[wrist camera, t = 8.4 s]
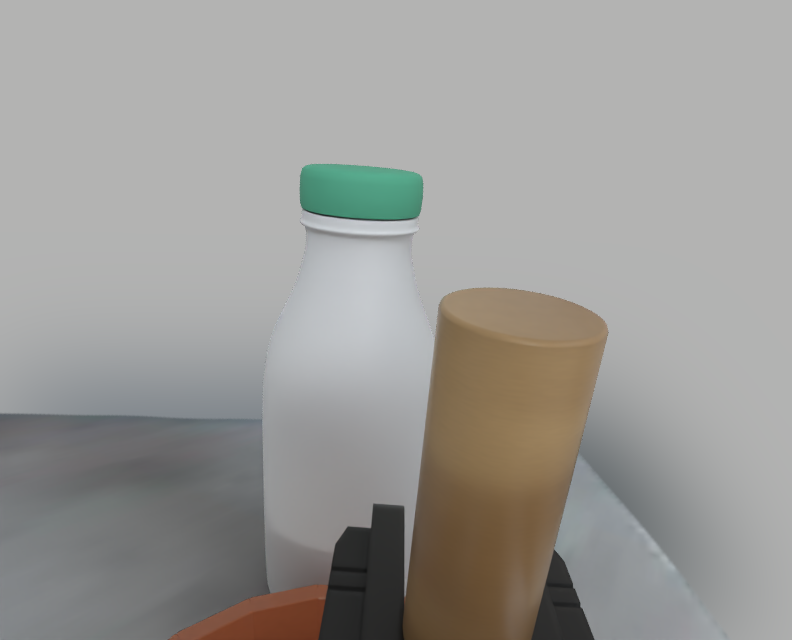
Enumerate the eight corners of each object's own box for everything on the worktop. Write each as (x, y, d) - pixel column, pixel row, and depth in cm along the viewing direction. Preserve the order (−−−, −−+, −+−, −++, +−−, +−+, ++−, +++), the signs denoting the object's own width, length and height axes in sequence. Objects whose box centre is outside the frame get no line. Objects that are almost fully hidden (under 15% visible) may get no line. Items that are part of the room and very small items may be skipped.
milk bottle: (388, 671, 20) (439, 181, 13) (233, 607, 22) (206, 157, 15) (433, 538, 27) (482, 174, 20) (312, 500, 29) (318, 158, 22)
